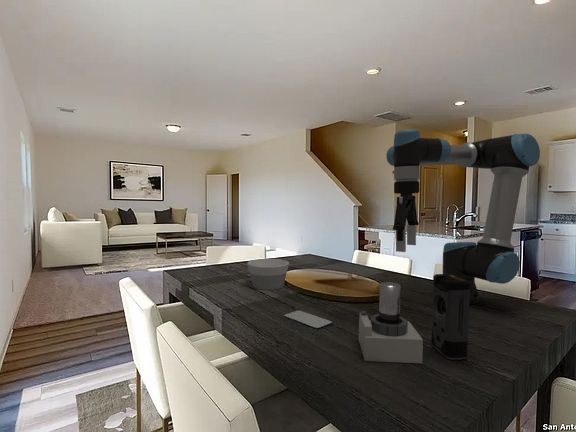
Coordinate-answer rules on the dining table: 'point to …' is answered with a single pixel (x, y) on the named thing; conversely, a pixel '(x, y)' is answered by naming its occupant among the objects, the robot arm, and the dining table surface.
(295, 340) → the dining table surface
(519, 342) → the dining table surface
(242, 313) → the dining table surface
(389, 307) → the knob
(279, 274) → the bowl
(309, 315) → the smartphone
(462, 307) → the electronic device
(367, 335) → the grey base with ring
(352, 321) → the dining table surface
